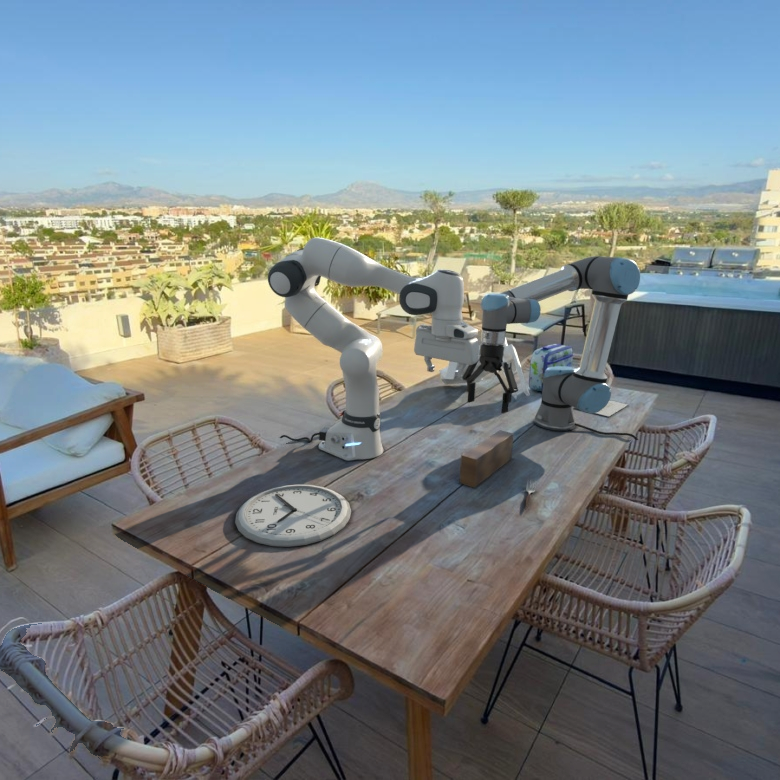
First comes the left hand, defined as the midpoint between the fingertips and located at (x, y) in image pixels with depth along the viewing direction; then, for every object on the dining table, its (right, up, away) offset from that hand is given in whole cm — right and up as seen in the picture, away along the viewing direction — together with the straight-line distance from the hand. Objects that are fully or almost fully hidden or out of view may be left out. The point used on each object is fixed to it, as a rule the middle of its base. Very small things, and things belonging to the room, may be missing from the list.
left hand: (444, 374), depth 154 cm
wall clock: (-41, -38, -16) cm, 58 cm away
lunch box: (+60, -4, +97) cm, 114 cm away
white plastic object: (+26, -6, +89) cm, 93 cm away
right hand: (+16, -10, +17) cm, 26 cm away
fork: (+23, -35, -6) cm, 43 cm away
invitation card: (+76, -12, +72) cm, 105 cm away
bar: (+15, -30, +11) cm, 35 cm away
